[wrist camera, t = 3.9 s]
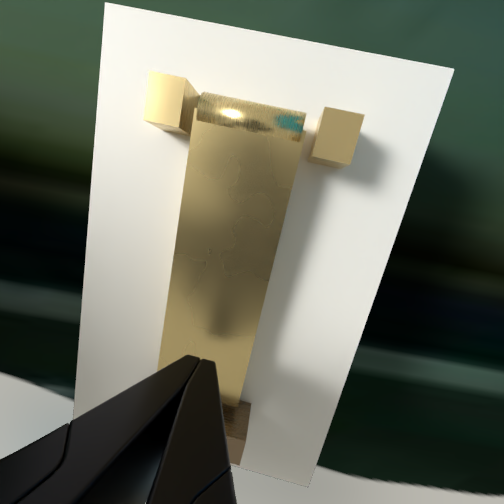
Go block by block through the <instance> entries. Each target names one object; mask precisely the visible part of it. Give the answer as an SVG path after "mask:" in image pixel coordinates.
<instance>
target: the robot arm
mask: <svg viewBox="0 0 504 504" xmlns="http://www.w3.org/2000/svg"><path fill="white" fill-rule="evenodd" d="M145 502H146V504H237V503H236V496H235V490H234V484H233V477H232V472H231V464H230V457H229V451H228V444H227V437H226V430H225V423H224V416H223V410H222V403H221V396H220V389H219V382H218V375H217V369H216V363H215V362H214V361H211V360H207V359H200V358H199V357H196V356H192V355H185V356H183V357H182V358H180V359H178V360H176V361H175V362H173V363H171V364H169V365H168V366H166V367H164V368H162V369H161V370H159V371H157V372H155V373H154V374H152V375H150V376H149V377H147V378H145V379H143V380H142V381H140V382H138V383H136V384H135V385H133V386H131V387H129V388H128V389H126V390H124V391H122V392H121V393H119V394H117V395H115V396H114V397H112V398H110V399H108V400H107V401H105V402H103V403H101V404H100V405H98V406H96V407H95V408H93V409H91V410H89V411H88V412H86V413H84V414H82V415H81V416H79V417H77V418H75V419H74V420H72V421H71V422H70V425H69V424H68V423H67V424H65V425H63V426H62V427H59V428H58V429H56V430H54V431H52V432H51V433H49V434H47V435H45V436H44V437H42V438H40V439H39V440H36V441H35V442H33V443H31V444H29V445H27V446H25V447H24V448H22V449H20V450H18V451H16V452H14V453H13V454H10V455H8V456H7V457H5V458H2V459H0V504H145Z"/></svg>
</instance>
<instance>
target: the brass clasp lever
mask: <svg viewBox="0 0 504 504" xmlns="http://www.w3.org/2000/svg"><path fill="white" fill-rule="evenodd" d="M306 114H307V113H305V112H300V111H296V110H291V109H286V108H281V107H276V106H271V105H267V104H262V103H257V102H252V101H247V100H242V99H238V98H233V97H228V96H223V95H218V94H213V93H209V92H202V93H201V95H200V97H199V101H198V105H197V108H195V109H194V116H193V123H192V130H191V137H190V144H189V151H188V158H187V165H186V172H185V179H184V186H183V193H182V200H181V207H180V214H179V221H178V228H177V235H176V242H175V249H174V256H173V263H172V270H171V277H170V284H169V291H168V298H167V305H166V312H165V319H164V326H163V333H162V340H161V347H160V354H159V361H158V368H157V371H159V370H161V369H162V368H164V367H166V366H168V365H169V364H171V363H173V362H175V361H176V360H178V359H180V358H182V357H183V356H185V355H192V356H196V357H199V358H200V359H207V360H211V361H214V362H215V363H216V369H217V375H218V382H219V389H220V396H221V403H223V404H227V405H231V406H234V407H238V404H239V400H240V396H241V392H242V388H243V384H244V380H245V376H246V372H247V368H248V364H249V360H250V356H251V352H252V348H253V343H254V339H255V335H256V331H257V327H258V323H259V319H260V315H261V311H262V307H263V303H264V299H265V295H266V291H267V287H268V283H269V279H270V275H271V271H272V267H273V263H274V259H275V255H276V251H277V247H278V243H279V239H280V235H281V231H282V227H283V223H284V219H285V215H286V211H287V207H288V203H289V199H290V195H291V191H292V187H293V183H294V179H295V175H296V171H297V167H298V163H299V159H300V155H301V151H302V147H303V143H304V139H305V135H306V131H304V130H303V127H304V123H305V118H306Z"/></svg>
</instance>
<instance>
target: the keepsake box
mask: <svg viewBox="0 0 504 504" xmlns="http://www.w3.org/2000/svg"><path fill="white" fill-rule="evenodd" d="M453 72H454V69H452V68H446V67H441V66H436V65H431V64H426V63H420V62H415V61H410V60H405V59H399V58H394V57H389V56H384V55H378V54H373V53H368V52H363V51H357V50H352V49H347V48H342V47H336V46H331V45H326V44H321V43H316V42H310V41H305V40H300V39H295V38H289V37H284V36H279V35H274V34H268V33H263V32H258V31H253V30H247V29H242V28H237V27H232V26H226V25H221V24H216V23H211V22H206V21H200V20H195V19H190V18H185V17H179V16H174V15H169V14H164V13H158V12H153V11H148V10H143V9H137V8H132V7H127V6H122V5H117V4H111V3H106V2H105V12H104V25H103V38H102V51H101V64H100V77H99V90H98V102H97V115H96V128H95V141H94V154H93V167H92V180H91V193H90V206H89V218H88V231H87V244H86V257H85V270H84V283H83V296H82V309H81V322H80V334H79V347H78V360H77V373H76V386H75V399H74V412H73V420H74V419H75V418H77V417H79V416H81V415H82V414H84V413H86V412H88V411H89V410H91V409H93V408H95V407H96V406H98V405H100V404H101V403H103V402H105V401H107V400H108V399H110V398H112V397H114V396H115V395H117V394H119V393H121V392H122V391H124V390H126V389H128V388H129V387H131V386H133V385H135V384H136V383H138V382H140V381H142V380H143V379H145V378H147V377H149V376H150V375H152V374H154V373H155V372H157V368H158V361H159V354H160V347H161V340H162V333H163V326H164V319H165V312H166V305H167V298H168V291H169V284H170V277H171V270H172V263H173V256H174V249H175V242H176V235H177V228H178V221H179V214H180V207H181V200H182V193H183V186H184V179H185V172H186V165H187V158H188V151H189V144H190V137H191V130H192V123H193V116H194V109H195V108H197V105H198V101H199V97H200V95H201V93H202V92H209V93H213V94H218V95H223V96H228V97H233V98H238V99H242V100H247V101H252V102H257V103H262V104H267V105H271V106H276V107H281V108H286V109H291V110H296V111H300V112H305V113H307V114H306V118H305V123H304V127H303V130H304V131H306V135H305V139H304V143H303V147H302V151H301V155H300V159H299V163H298V167H297V171H296V175H295V179H294V183H293V187H292V191H291V195H290V199H289V203H288V207H287V211H286V215H285V219H284V223H283V227H282V231H281V235H280V239H279V243H278V247H277V251H276V255H275V259H274V263H273V267H272V271H271V275H270V279H269V283H268V287H267V291H266V295H265V299H264V303H263V307H262V311H261V315H260V319H259V323H258V327H257V331H256V335H255V339H254V343H253V348H252V352H251V356H250V360H249V364H248V368H247V372H246V376H245V380H244V384H243V388H242V392H241V396H240V400H239V404H238V407H234V406H231V405H227V404H223V403H222V410H223V416H224V423H225V430H226V437H227V444H228V451H229V457H230V464H231V465H232V466H235V467H239V468H242V469H245V470H249V471H252V472H256V473H259V474H263V475H266V476H270V477H274V478H277V479H280V480H284V481H287V482H291V483H294V484H297V485H301V486H305V487H309V484H310V481H311V478H312V475H313V472H314V470H315V467H316V464H317V461H318V458H319V455H320V452H321V450H322V447H323V444H324V441H325V438H326V435H327V432H328V430H329V427H330V424H331V421H332V418H333V415H334V412H335V410H336V407H337V404H338V401H339V398H340V395H341V392H342V390H343V387H344V384H345V381H346V378H347V375H348V372H349V370H350V367H351V364H352V361H353V358H354V355H355V352H356V350H357V347H358V344H359V341H360V338H361V335H362V332H363V330H364V327H365V324H366V321H367V318H368V315H369V312H370V310H371V307H372V304H373V301H374V298H375V295H376V292H377V290H378V287H379V284H380V281H381V278H382V275H383V272H384V269H385V267H386V264H387V261H388V258H389V255H390V252H391V249H392V247H393V244H394V241H395V238H396V235H397V232H398V229H399V227H400V224H401V221H402V218H403V215H404V212H405V209H406V207H407V204H408V201H409V198H410V195H411V192H412V189H413V187H414V184H415V181H416V178H417V175H418V172H419V169H420V167H421V164H422V161H423V158H424V155H425V152H426V149H427V147H428V144H429V141H430V138H431V135H432V132H433V129H434V127H435V124H436V121H437V118H438V115H439V112H440V109H441V107H442V104H443V101H444V98H445V95H446V92H447V89H448V87H449V84H450V81H451V78H452V75H453Z"/></svg>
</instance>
